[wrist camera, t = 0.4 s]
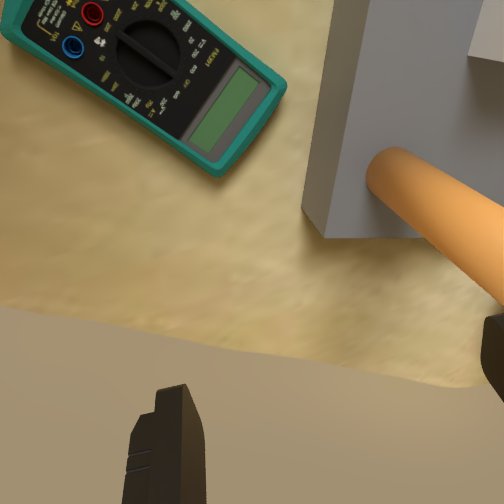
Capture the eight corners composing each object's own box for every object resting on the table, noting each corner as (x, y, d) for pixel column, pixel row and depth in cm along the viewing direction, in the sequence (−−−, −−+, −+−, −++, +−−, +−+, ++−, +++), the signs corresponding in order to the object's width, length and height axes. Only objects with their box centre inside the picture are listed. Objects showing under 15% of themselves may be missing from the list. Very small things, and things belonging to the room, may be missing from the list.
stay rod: (372, 145, 27) (553, 266, 15) (420, 148, 28) (630, 264, 16) (360, 196, 29) (517, 342, 17) (407, 197, 29) (589, 337, 17)
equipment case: (353, -118, 25) (455, -172, 17) (568, -78, 28) (742, -107, 20) (301, 207, 34) (351, 274, 26) (468, 209, 37) (560, 270, 29)
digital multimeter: (64, -107, 23) (54, -119, 21) (283, 80, 30) (296, 88, 27) (-3, 23, 25) (-19, 26, 23) (216, 170, 32) (222, 186, 29)
